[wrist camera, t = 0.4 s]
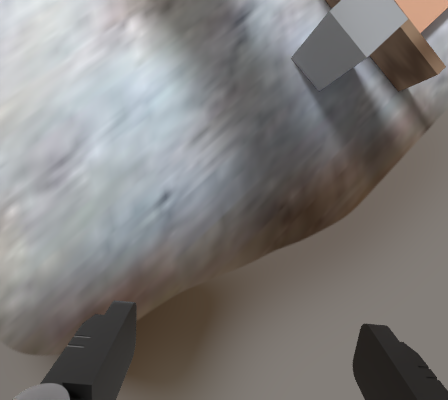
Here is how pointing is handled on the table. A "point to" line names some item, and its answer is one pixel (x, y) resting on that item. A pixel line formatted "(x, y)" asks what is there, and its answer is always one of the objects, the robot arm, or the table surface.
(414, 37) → the walnut screen
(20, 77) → the table surface
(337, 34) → the plain grey block
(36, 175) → the table surface
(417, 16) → the terracotta tile
